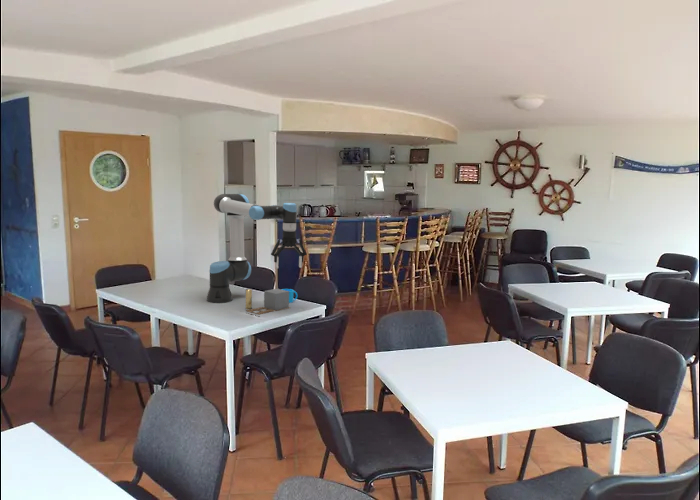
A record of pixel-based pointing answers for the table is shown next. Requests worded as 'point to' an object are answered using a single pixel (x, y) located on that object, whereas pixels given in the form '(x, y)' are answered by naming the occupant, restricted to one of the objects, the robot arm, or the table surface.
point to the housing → (276, 299)
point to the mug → (291, 295)
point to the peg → (248, 299)
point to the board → (277, 310)
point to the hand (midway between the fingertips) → (288, 267)
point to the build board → (259, 310)
